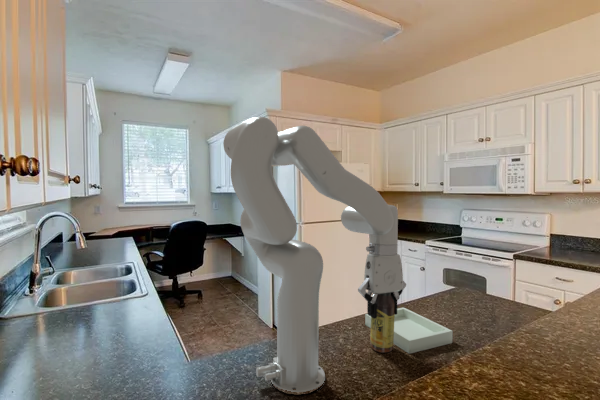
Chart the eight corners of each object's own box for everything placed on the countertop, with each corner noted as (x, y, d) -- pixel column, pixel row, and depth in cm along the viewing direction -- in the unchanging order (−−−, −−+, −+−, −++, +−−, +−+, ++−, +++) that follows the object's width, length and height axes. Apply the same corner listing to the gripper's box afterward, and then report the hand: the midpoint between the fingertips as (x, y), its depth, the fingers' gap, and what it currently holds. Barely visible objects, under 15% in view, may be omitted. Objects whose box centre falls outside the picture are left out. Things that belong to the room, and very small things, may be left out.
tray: (409, 353, 83) (409, 340, 83) (365, 324, 101) (365, 314, 101) (452, 342, 89) (452, 330, 89) (403, 317, 108) (403, 307, 108)
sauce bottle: (365, 345, 88) (366, 275, 87) (384, 341, 90) (385, 273, 90) (379, 356, 82) (380, 281, 81) (399, 352, 84) (400, 279, 83)
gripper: (364, 254, 78) (364, 325, 79) (417, 249, 85) (416, 314, 86) (348, 249, 85) (348, 314, 86) (398, 245, 92) (398, 305, 92)
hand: (382, 314), depth 86 cm, fingers closed on sauce bottle, 6 cm apart
